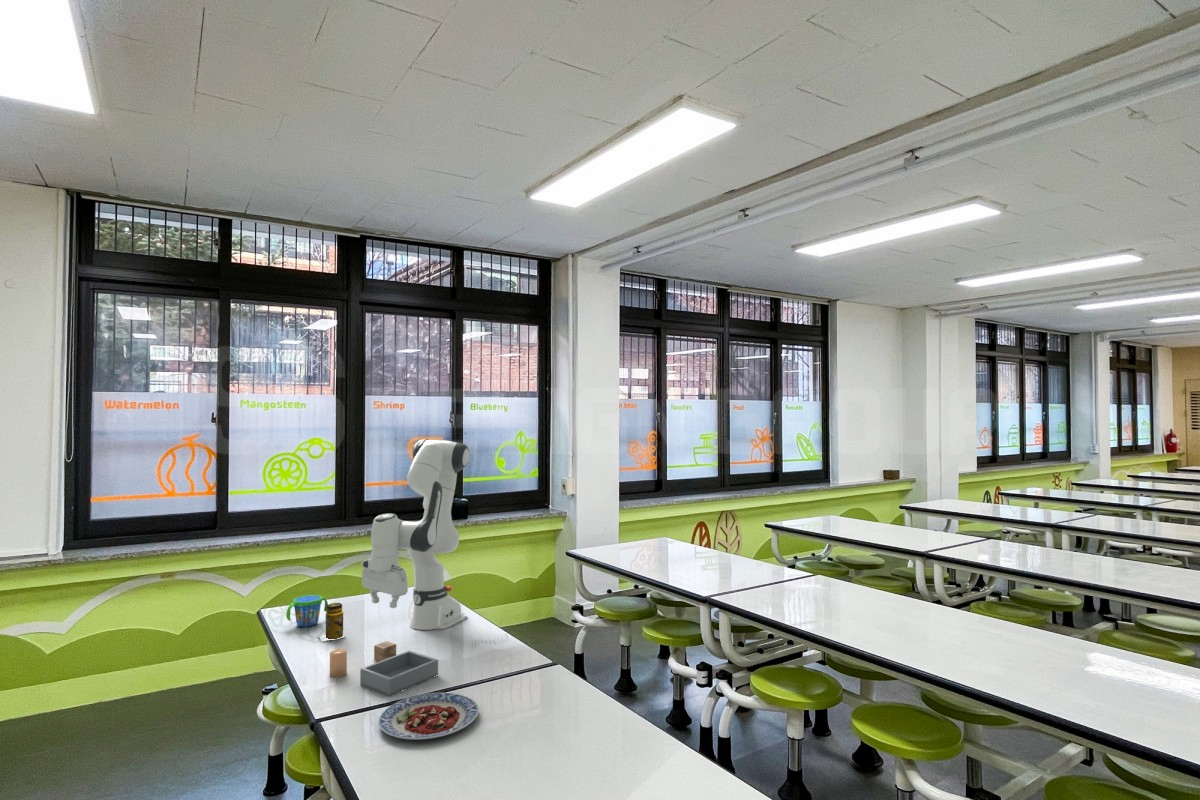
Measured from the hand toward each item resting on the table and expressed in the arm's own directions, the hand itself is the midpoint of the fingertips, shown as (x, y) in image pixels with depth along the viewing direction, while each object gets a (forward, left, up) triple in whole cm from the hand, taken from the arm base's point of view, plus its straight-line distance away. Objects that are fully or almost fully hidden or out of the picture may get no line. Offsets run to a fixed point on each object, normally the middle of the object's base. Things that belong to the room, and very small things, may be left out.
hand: (384, 605), depth 214 cm
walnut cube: (0, 0, -18) cm, 18 cm away
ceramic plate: (+20, +46, -19) cm, 54 cm away
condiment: (-2, -34, -18) cm, 39 cm away
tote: (+8, +18, -18) cm, 27 cm away
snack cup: (-5, -55, -18) cm, 58 cm away
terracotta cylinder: (+16, -2, -18) cm, 24 cm away
